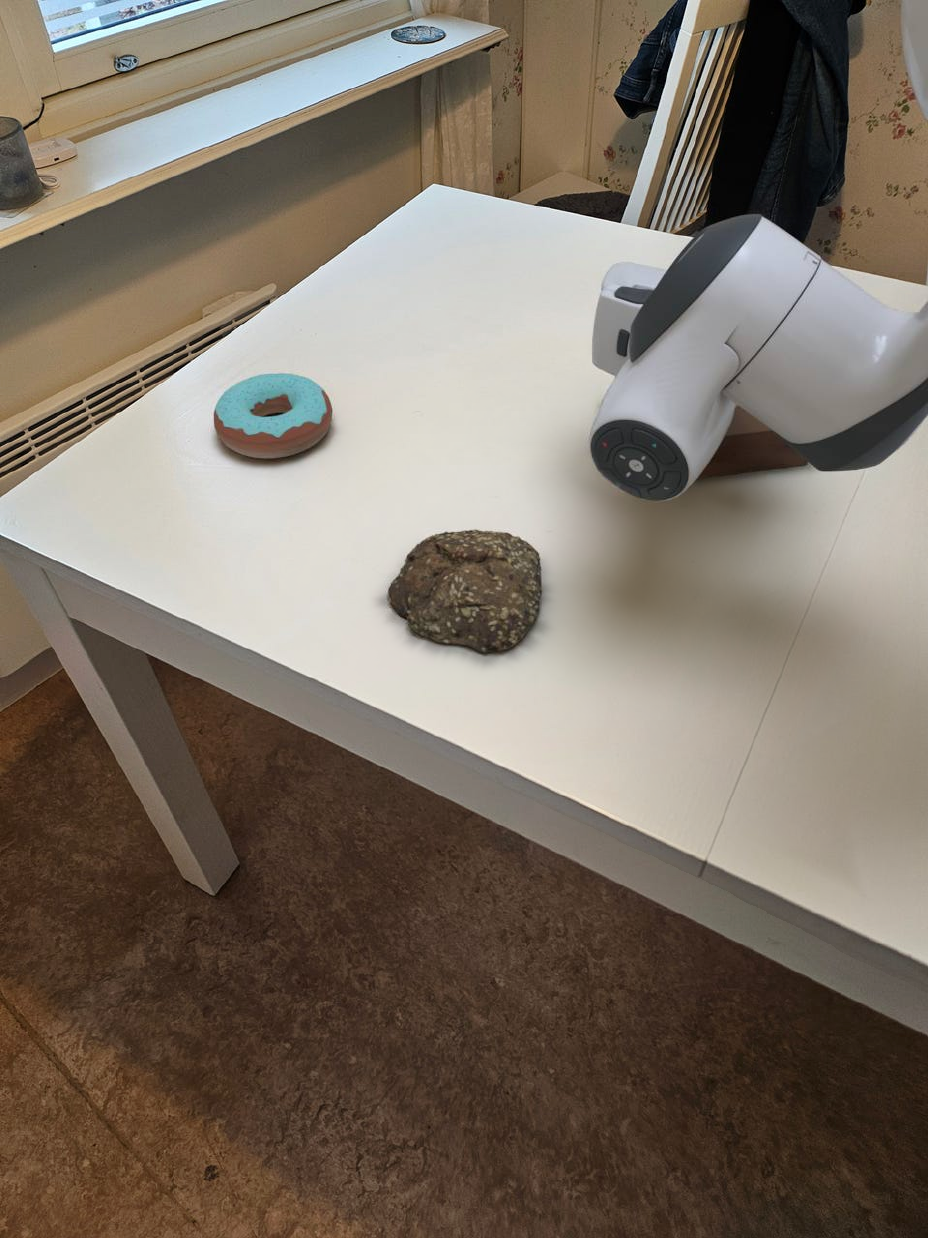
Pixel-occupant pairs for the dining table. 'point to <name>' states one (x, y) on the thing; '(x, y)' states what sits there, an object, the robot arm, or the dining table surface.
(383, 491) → the dining table surface
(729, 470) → the shelf
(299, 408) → the donut
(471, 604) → the bread roll
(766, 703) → the dining table surface
